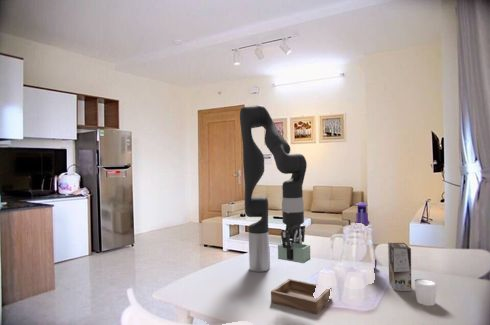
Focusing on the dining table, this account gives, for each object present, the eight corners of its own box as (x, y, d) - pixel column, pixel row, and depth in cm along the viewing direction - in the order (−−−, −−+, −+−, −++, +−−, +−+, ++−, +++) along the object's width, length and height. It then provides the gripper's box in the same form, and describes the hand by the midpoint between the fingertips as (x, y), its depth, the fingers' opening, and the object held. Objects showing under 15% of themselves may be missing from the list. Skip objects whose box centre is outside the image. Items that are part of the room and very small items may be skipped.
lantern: (350, 262, 160) (348, 199, 159) (376, 264, 156) (374, 200, 155) (349, 271, 147) (347, 203, 147) (377, 273, 143) (375, 204, 143)
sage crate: (285, 255, 124) (285, 241, 123) (310, 259, 118) (310, 245, 118) (278, 258, 119) (277, 245, 119) (303, 263, 113) (303, 248, 113)
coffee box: (412, 291, 124) (411, 248, 124) (393, 290, 125) (393, 248, 125) (405, 282, 133) (404, 242, 132) (388, 281, 134) (387, 241, 134)
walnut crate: (289, 289, 129) (289, 278, 129) (331, 298, 120) (331, 287, 120) (271, 302, 118) (270, 291, 118) (316, 314, 108) (316, 302, 108)
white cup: (410, 298, 118) (410, 278, 118) (429, 297, 119) (428, 277, 119) (422, 307, 111) (422, 286, 111) (442, 305, 112) (441, 285, 112)
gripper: (293, 206, 126) (294, 251, 126) (273, 212, 115) (274, 261, 115) (311, 207, 122) (312, 254, 122) (292, 213, 110) (294, 264, 110)
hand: (294, 257), depth 118 cm, fingers closed on sage crate, 5 cm apart
